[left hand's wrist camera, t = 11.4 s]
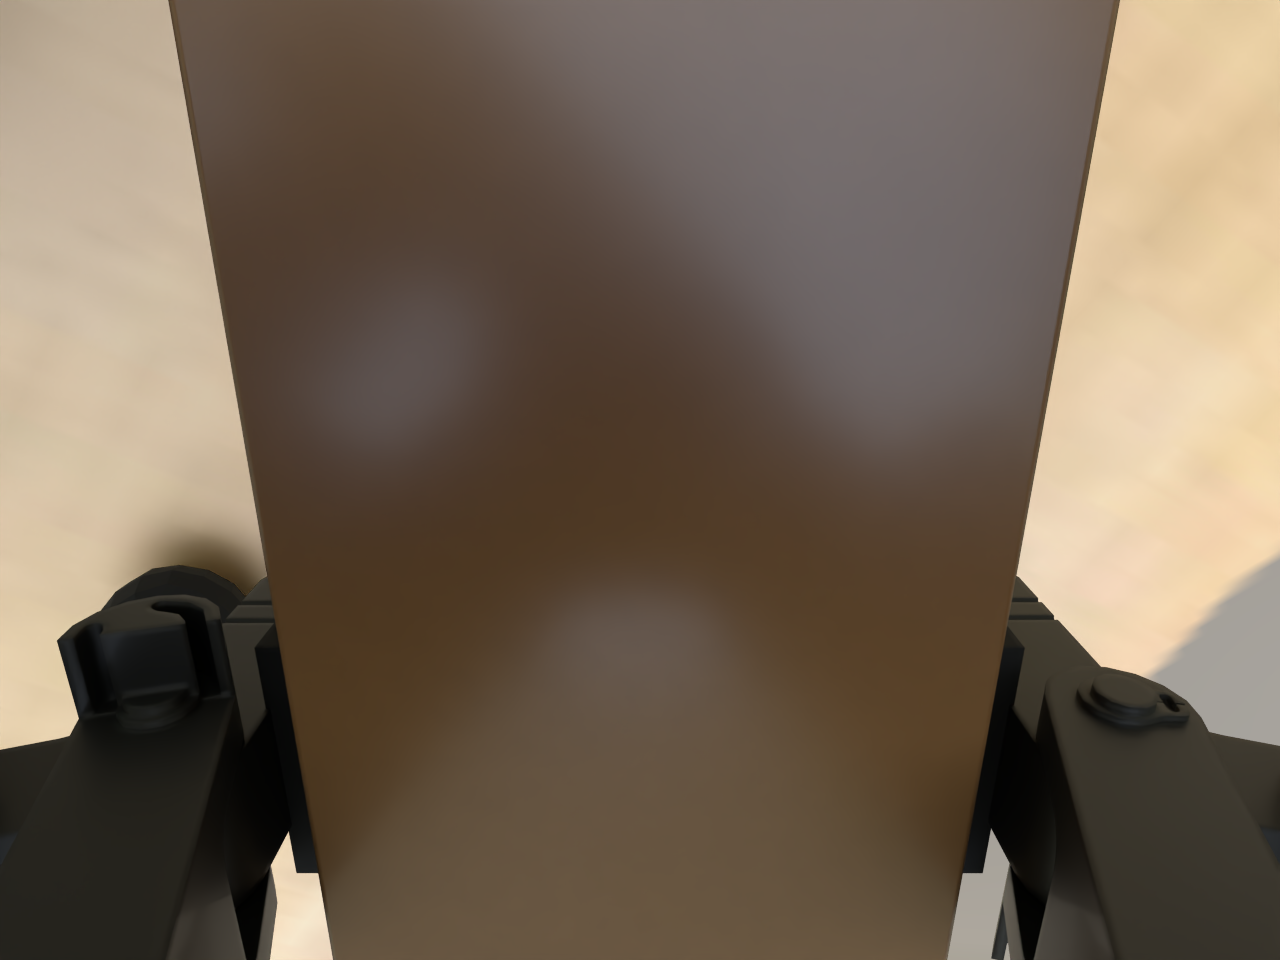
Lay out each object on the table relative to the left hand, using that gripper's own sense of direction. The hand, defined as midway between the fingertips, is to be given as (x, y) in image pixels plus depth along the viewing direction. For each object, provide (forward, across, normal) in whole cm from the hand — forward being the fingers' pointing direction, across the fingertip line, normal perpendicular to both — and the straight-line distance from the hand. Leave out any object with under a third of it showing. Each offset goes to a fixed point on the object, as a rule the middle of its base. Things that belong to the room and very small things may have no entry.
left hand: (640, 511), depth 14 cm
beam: (+1, 0, -22) cm, 22 cm away
